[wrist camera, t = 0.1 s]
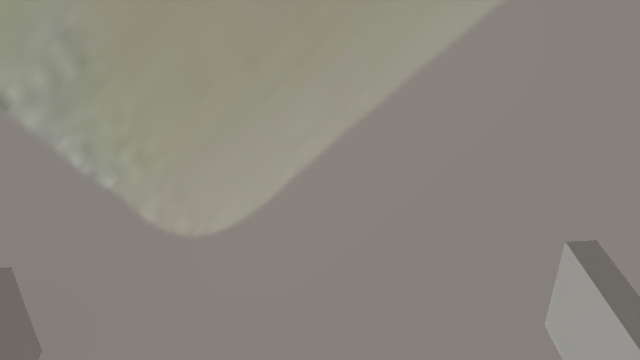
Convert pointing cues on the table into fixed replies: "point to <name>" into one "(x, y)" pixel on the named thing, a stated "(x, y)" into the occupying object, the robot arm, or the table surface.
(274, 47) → the table surface
